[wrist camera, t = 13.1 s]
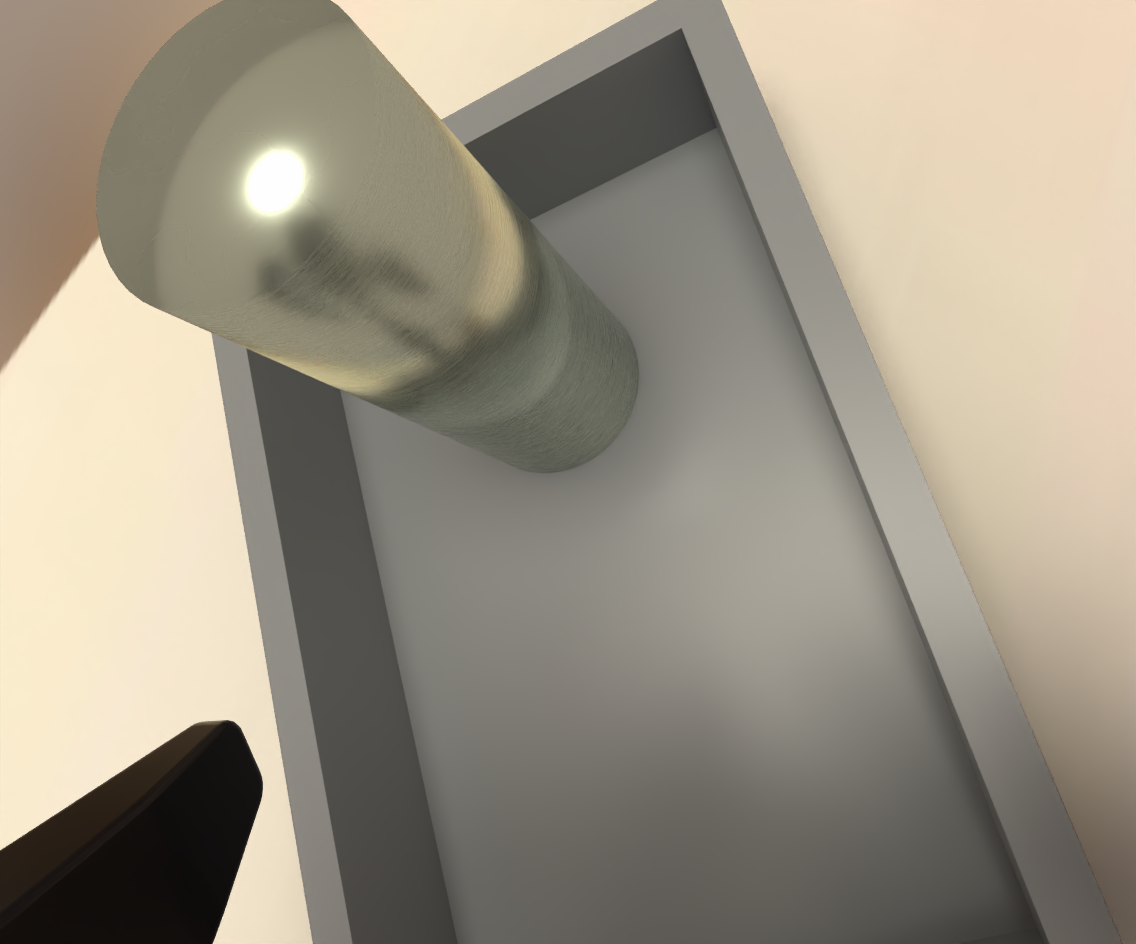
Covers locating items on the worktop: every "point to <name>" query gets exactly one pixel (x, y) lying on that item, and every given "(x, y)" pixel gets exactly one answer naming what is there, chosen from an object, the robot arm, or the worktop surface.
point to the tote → (647, 588)
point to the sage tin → (353, 237)
